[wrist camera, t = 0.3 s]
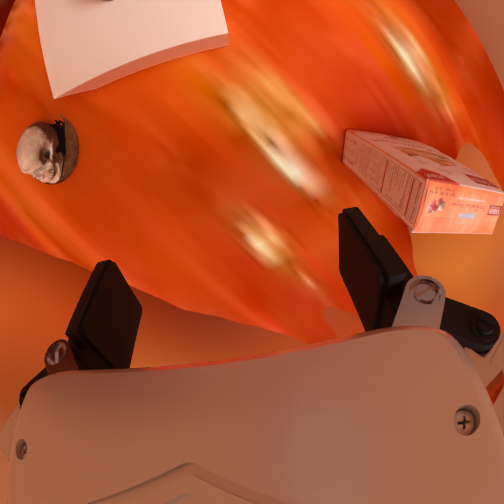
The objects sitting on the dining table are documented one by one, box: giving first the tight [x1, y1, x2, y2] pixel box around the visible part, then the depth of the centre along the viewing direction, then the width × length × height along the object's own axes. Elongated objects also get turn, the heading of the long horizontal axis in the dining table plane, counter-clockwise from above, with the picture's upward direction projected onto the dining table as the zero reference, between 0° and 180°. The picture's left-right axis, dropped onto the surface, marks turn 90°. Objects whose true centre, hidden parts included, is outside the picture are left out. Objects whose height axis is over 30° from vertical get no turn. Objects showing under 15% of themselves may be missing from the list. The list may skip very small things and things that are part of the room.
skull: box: [16, 115, 79, 184], centre depth 33 cm, size 12×10×10 cm
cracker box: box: [342, 129, 504, 234], centre depth 30 cm, size 14×6×21 cm, turn 89°
